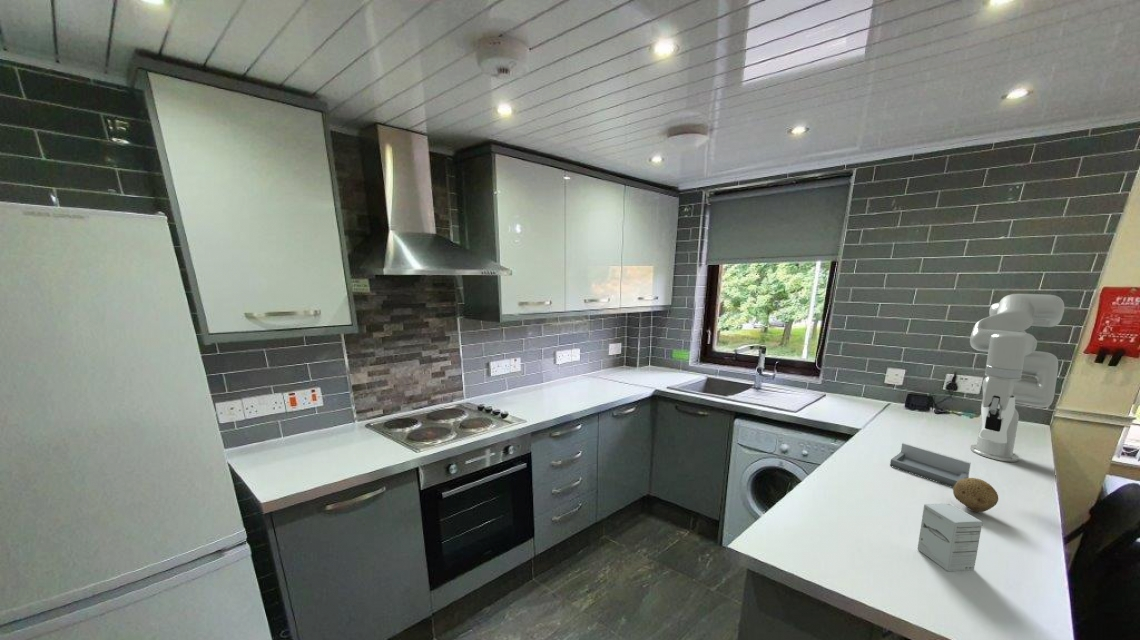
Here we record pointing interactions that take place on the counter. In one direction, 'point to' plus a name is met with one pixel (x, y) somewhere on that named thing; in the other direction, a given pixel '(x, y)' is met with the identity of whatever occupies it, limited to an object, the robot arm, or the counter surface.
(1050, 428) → the counter surface
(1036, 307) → the robot arm
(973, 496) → the natural sponge
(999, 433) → the beer glass
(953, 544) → the supplement box
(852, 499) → the counter surface
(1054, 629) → the counter surface
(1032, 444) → the counter surface
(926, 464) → the guarded tray
